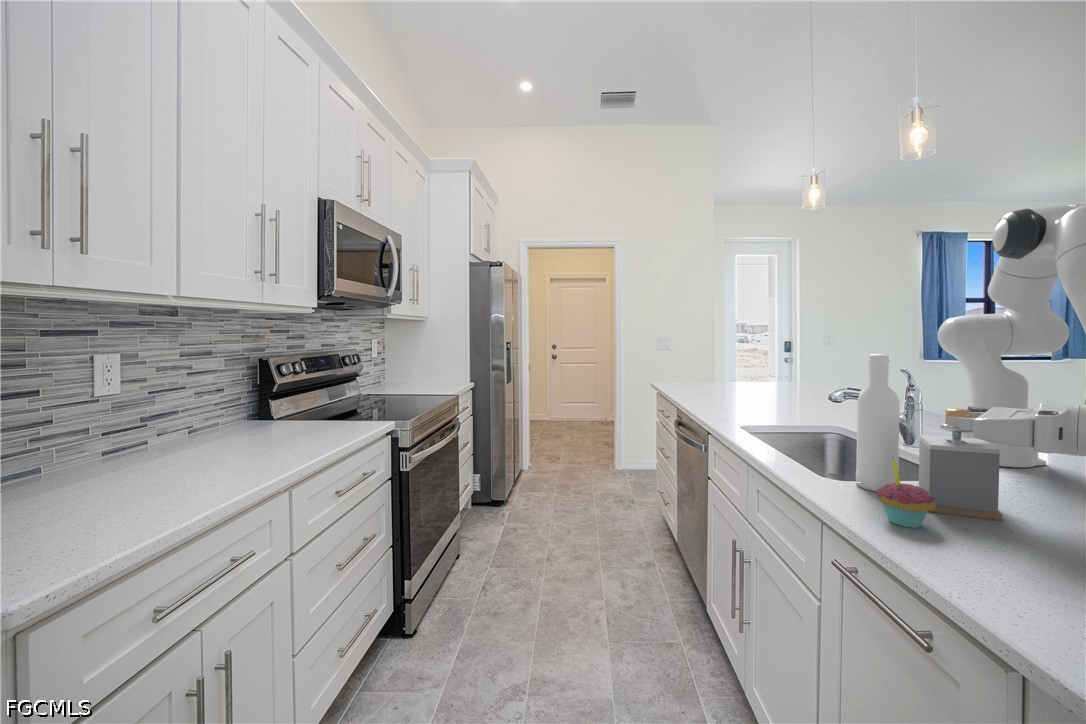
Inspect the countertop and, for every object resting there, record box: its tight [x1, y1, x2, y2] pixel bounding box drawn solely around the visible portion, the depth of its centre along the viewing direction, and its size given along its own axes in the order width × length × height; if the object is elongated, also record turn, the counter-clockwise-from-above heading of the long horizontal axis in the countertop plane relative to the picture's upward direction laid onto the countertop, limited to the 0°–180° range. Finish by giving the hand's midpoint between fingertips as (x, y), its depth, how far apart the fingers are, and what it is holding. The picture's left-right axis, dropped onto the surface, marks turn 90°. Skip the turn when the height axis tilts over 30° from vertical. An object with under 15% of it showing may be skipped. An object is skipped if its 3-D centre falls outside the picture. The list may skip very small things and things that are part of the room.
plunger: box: [939, 407, 973, 444], centre depth 93 cm, size 8×8×18 cm
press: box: [918, 434, 1004, 521], centre depth 94 cm, size 11×11×13 cm
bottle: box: [855, 353, 901, 492], centre depth 106 cm, size 8×8×30 cm
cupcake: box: [875, 456, 936, 529], centre depth 86 cm, size 9×8×12 cm
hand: (951, 418), depth 94 cm, fingers open, 6 cm apart
